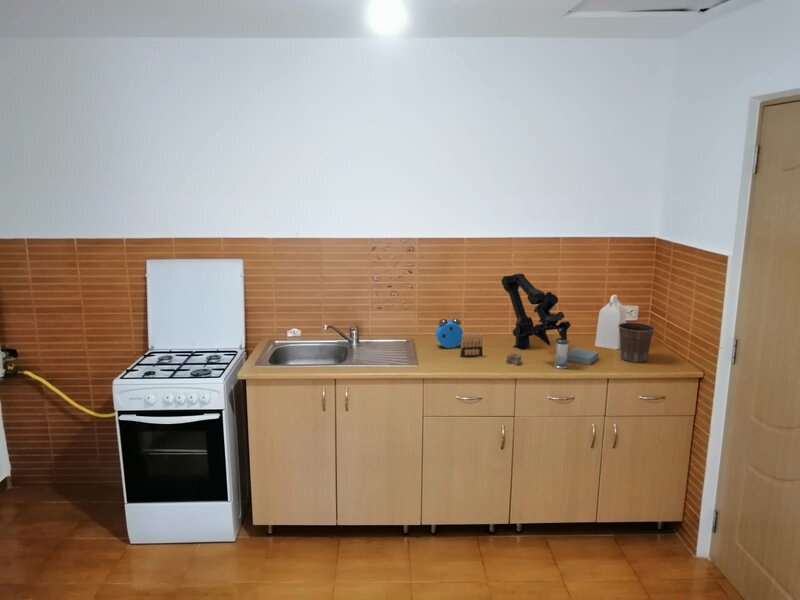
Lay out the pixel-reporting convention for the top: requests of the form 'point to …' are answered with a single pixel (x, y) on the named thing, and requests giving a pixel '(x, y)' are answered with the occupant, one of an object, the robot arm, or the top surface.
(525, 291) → the robot arm
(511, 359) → the offcut block
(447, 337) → the alarm clock
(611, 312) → the milk
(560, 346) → the glass shaker
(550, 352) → the top surface
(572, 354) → the stand
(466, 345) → the ammunition clip
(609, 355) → the top surface
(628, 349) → the plant pot
